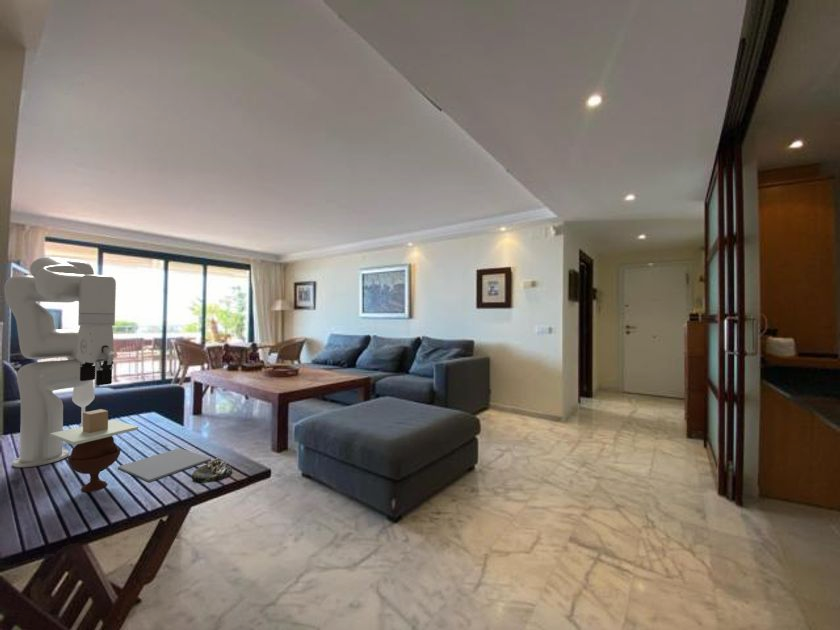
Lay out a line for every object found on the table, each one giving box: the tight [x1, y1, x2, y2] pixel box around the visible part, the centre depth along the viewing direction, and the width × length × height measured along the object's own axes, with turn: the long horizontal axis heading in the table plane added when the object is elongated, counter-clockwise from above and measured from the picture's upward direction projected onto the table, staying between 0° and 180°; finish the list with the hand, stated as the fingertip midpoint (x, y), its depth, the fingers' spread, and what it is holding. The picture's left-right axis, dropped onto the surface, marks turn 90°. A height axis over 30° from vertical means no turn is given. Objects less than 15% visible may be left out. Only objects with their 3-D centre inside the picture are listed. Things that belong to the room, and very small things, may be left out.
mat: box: [117, 447, 212, 483], centre depth 116 cm, size 18×18×1 cm
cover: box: [50, 408, 139, 446], centre depth 100 cm, size 14×14×6 cm
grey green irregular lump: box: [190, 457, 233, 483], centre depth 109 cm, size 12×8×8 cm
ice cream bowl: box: [66, 436, 122, 493], centre depth 100 cm, size 11×11×15 cm
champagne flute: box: [71, 380, 96, 427], centre depth 146 cm, size 7×7×24 cm
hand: (95, 382), depth 100 cm, fingers open, 9 cm apart
